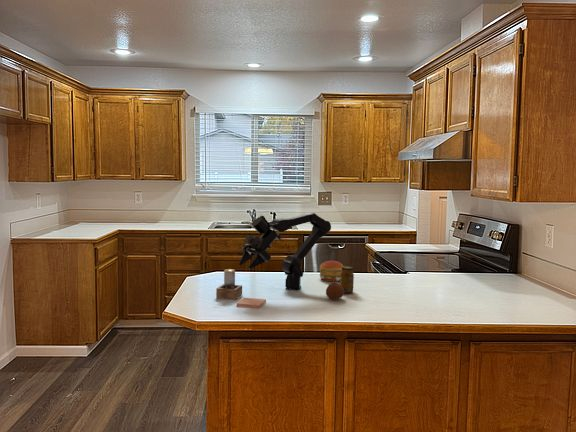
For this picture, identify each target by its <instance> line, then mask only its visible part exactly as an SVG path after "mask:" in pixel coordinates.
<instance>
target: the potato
mask: <svg viewBox="0 0 576 432" xmlns="http://www.w3.org/2000/svg"><path fill="white" fill-rule="evenodd" d="M340 284H341V283H338V282H331V283H330V284H328V286H327V287H326V289H325V295H326V297H327V298H329V299H330V300H338V299H341V298H343V297H344V296H345V295H344V289H343V287H342V286H341V285H340Z"/></svg>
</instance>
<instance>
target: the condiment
mask: <svg viewBox="0 0 576 432" xmlns="http://www.w3.org/2000/svg"><path fill="white" fill-rule="evenodd" d="M354 276H355V274H354V268H353V267H352V266H347V265H346V266H344V267H342V273H341V280H340V283H339V284H340V285H341V286H342V287H343V289H344V295H343V296H353V295H358V293H357V292H355V291H354V284H355V283H354V282H355V281H354V279H355V277H354Z"/></svg>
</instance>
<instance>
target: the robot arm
mask: <svg viewBox="0 0 576 432" xmlns="http://www.w3.org/2000/svg"><path fill="white" fill-rule="evenodd" d="M307 223H310V225H311V226H312V227H311V233H310V234H309V235H308V237H307V238H306V239H305V240H304V242H302V244H301V245H300V246H299V248H298V249H296V252H294V254H292V255H290V254H288V255H286V258H285V259H283V260H282V264H281V269H282V271H284V275H286V278H285V282H284V284H285V285H284V286H285V290H291V291H292V290H295V291H298V290H300V289H301V288H302V285H301V282H302V281H301V280H302V278H303V276H304V271H303V270H302V269H301V267H302V264H303V263H302V262H303V260H304V258H306V256H307V255H308V253H310V251H311V250H312V248H313V247H314V246H315V245H316V244H317V242H318V241H319V239H320V238H323V237H324V236H326V235H327V234H328V233H329V232H330V231H331V230H332V224H331V222H330V221H328V220H325V219H324V218H322V217H320V216H319V215H318V214H316V213H315V212H310V211H309V212H306V213H304V214H300V215H295V216H291V217H288V218H284V217H283V218H280V217H279V218H274V219H272V221H268V220H267V219H266V217H265V216H264V215H260V216H259V217H257V218H255V219H254V220H253V221H252V222H251V226H252V227H253V229H255V231H257V233H258V234H259V235H261V236H260V237H259V236H258V235H254V236H251V235H247V234H246V236H245V239H244V240H243V241H244V244H243V245H242V246H241V250H242V255H241V259H239V260H240V261H239V263H238V264H239V266H242V265H244V264H245V263H247V262H248V261H249V260H251V259H252V260H251V262H250V263H249V265H248V267H247V268H248V269H250V270H251V269H253V268H255V267H257V266H260V265H262V264H264V263H267V262H270V260H271V259H272V255H271V254H270V253H269V252H268V251H267V250H268V249H269V250H270V249H271V246H272V244H273V243H274V241H275V240H277V241H281V234H280V233H284V232H286V231H288V230H290V229H291V228H292V227H296V226H299V225H303V224H307ZM278 232H279V233H278Z"/></svg>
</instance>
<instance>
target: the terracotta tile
mask: <svg viewBox="0 0 576 432" xmlns="http://www.w3.org/2000/svg"><path fill="white" fill-rule="evenodd" d="M266 302H267V300H266V298H254V297H243V298H241V299H240V300H239V301H238V302H236V305H235V306H236V307H242V308H255V309H260V308H261V307H262V306H263V305H265V303H266Z"/></svg>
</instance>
